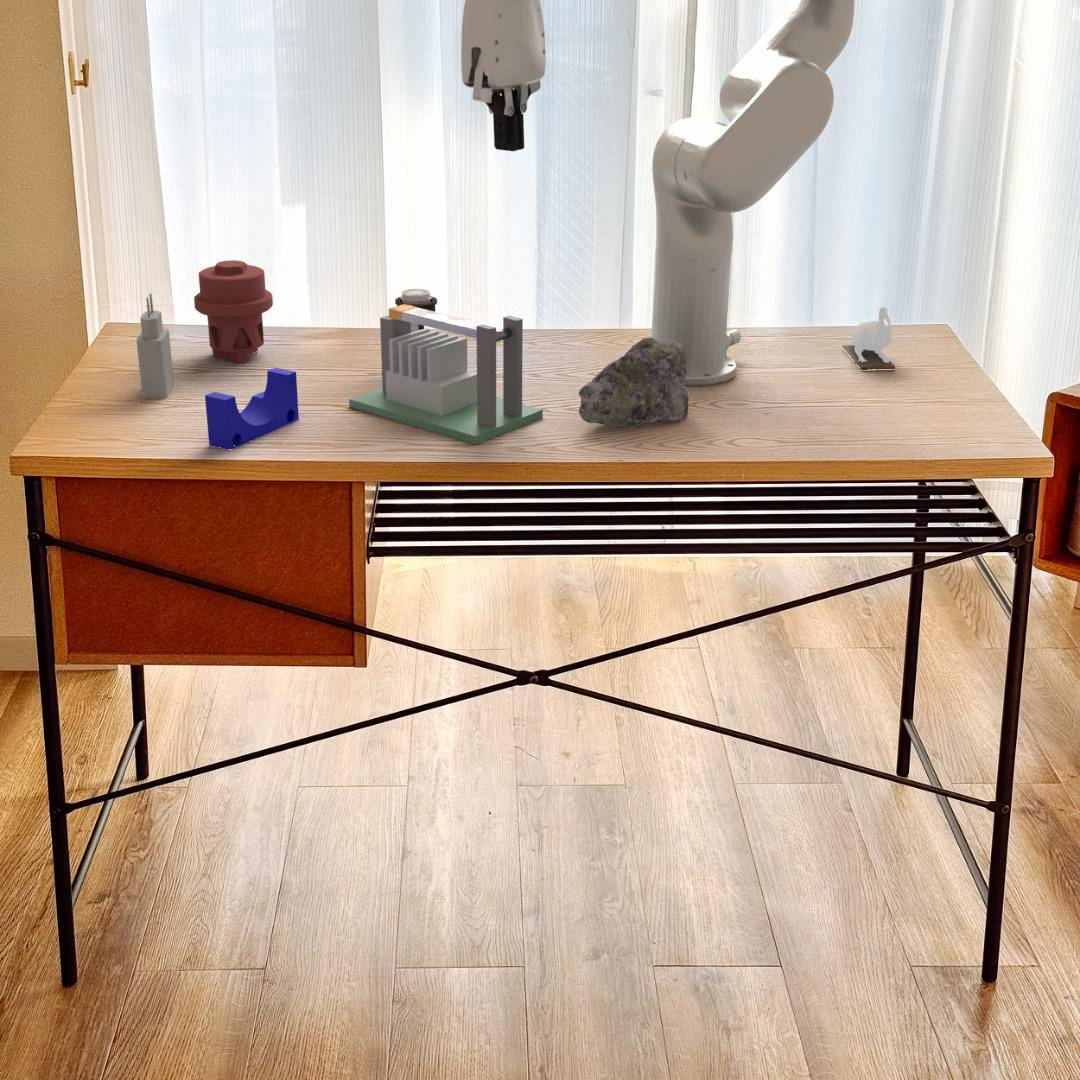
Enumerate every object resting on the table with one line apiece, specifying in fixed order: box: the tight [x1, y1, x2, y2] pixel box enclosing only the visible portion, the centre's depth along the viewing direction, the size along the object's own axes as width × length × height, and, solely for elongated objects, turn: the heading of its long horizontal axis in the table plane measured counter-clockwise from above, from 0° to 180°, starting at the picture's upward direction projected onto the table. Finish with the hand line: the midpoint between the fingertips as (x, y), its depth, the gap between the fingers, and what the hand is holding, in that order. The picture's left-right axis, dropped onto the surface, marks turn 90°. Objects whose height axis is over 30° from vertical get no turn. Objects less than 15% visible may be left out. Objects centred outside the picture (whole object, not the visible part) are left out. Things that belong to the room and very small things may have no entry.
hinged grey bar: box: [388, 304, 512, 343], centre depth 168 cm, size 3×17×1 cm, turn 51°
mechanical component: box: [193, 259, 274, 364], centre depth 191 cm, size 12×10×10 cm
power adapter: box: [135, 292, 175, 399], centre depth 177 cm, size 3×5×12 cm, turn 3°
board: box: [348, 314, 544, 445], centre depth 171 cm, size 12×20×12 cm, turn 51°
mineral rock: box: [578, 337, 690, 427], centre depth 170 cm, size 13×11×10 cm
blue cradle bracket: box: [204, 367, 300, 450], centre depth 166 cm, size 12×4×6 cm, turn 150°
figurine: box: [842, 306, 896, 370], centre depth 191 cm, size 14×4×9 cm, turn 4°
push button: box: [394, 288, 438, 333], centre depth 186 cm, size 7×5×10 cm
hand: (509, 148), depth 169 cm, fingers closed
